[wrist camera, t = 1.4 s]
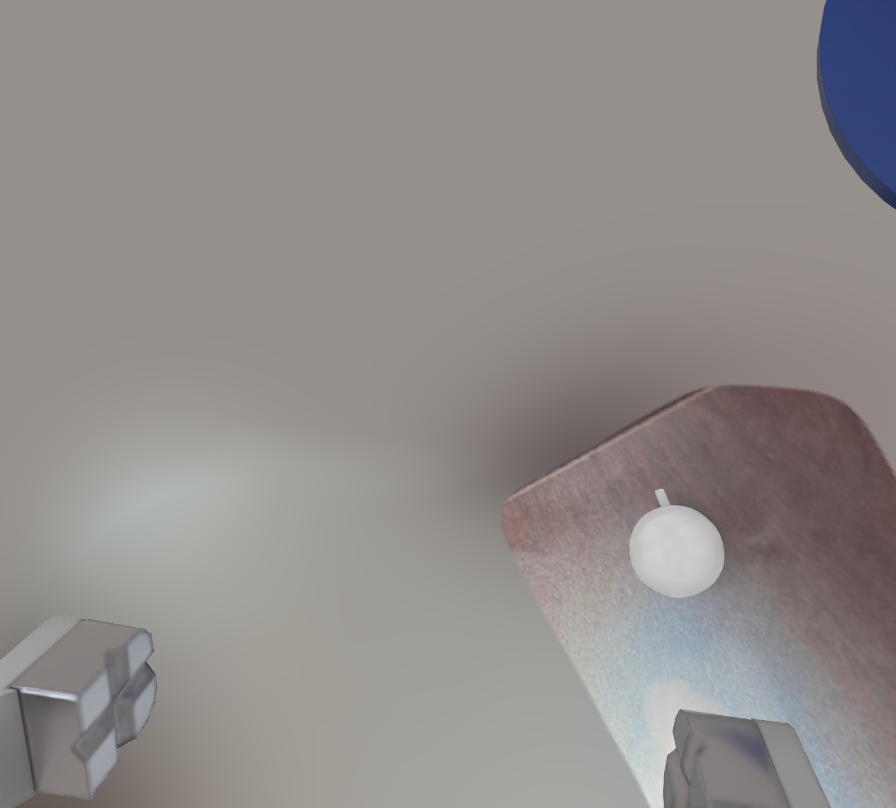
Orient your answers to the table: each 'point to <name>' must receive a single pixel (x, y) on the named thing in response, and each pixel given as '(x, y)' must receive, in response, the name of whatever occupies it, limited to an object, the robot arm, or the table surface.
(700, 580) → the milkshake
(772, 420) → the table surface
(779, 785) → the robot arm
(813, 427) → the table surface
